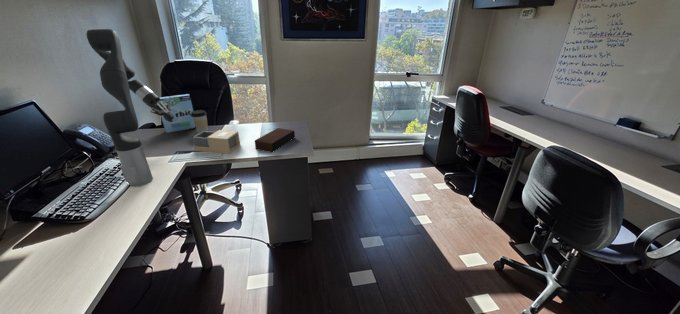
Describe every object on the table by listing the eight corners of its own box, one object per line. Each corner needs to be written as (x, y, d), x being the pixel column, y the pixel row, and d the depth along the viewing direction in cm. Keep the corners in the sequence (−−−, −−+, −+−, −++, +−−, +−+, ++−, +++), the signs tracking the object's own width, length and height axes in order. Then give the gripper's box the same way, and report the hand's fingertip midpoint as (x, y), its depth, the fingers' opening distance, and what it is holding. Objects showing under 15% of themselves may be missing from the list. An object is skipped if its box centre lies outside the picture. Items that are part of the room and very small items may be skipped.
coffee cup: (213, 132, 187) (209, 110, 180) (204, 137, 178) (199, 114, 172) (202, 130, 189) (197, 109, 182) (191, 135, 181) (186, 113, 174)
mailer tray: (227, 150, 156) (224, 139, 153) (195, 148, 160) (192, 137, 157) (236, 144, 165) (234, 133, 162) (205, 141, 169) (203, 131, 166)
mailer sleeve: (229, 153, 156) (226, 138, 152) (194, 150, 159) (190, 135, 155) (240, 145, 166) (238, 131, 162) (207, 142, 170) (204, 128, 166)
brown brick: (279, 136, 181) (278, 127, 178) (295, 138, 177) (294, 130, 174) (255, 149, 161) (254, 140, 159) (272, 153, 157) (271, 143, 155)
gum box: (196, 125, 198) (188, 93, 188) (197, 127, 194) (189, 95, 184) (165, 131, 189) (155, 97, 179) (165, 133, 185) (155, 99, 175)
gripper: (140, 94, 149) (166, 118, 153) (159, 89, 161) (183, 111, 164) (135, 103, 153) (161, 126, 156) (154, 98, 164) (177, 119, 168)
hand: (172, 118), depth 160 cm, fingers closed
